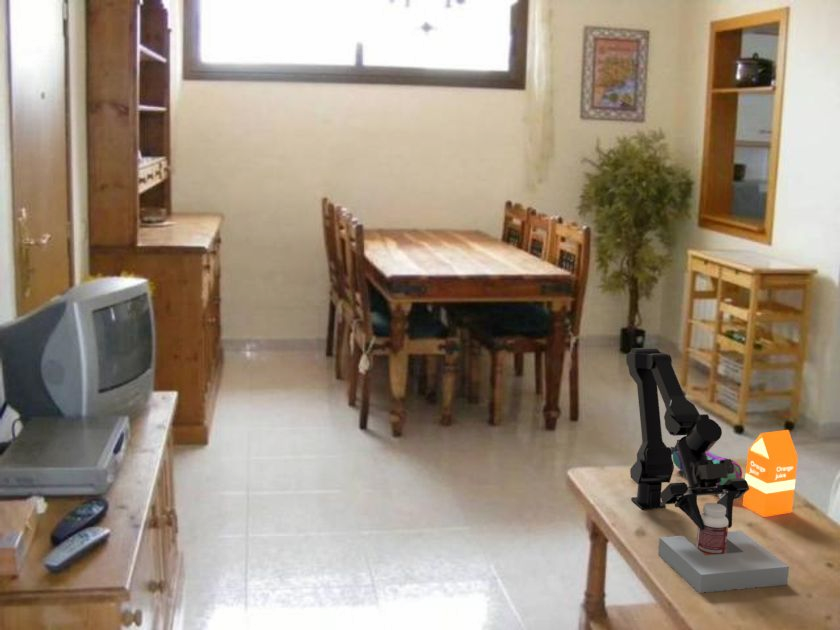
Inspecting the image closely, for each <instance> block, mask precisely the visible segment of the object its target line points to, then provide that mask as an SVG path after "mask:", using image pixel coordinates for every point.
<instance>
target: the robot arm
mask: <svg viewBox="0 0 840 630" xmlns="http://www.w3.org/2000/svg"><path fill="white" fill-rule="evenodd" d="M625 358H626V359H625V361H626V365H627V367H628V372H629V375H630V377H631V378H632V380H633V381H634V382H635V383H636V387H637V398H638V408H639V417H640V418H639V421H640V431H641V441H642V442H641V444H640V446H639V449H638V450H637V453H636V461H635V463H634V464H633V465H632V466H631V468H630V469H629V470H630V471H629V472H630V474H629V475H630V479H632V481H634V482H635V484H637V491H636V497H635V496H634V497H631V498H630V500H631V501H632V503H633V502H634V504H635V505H637V506H638V507H639V508H640V509H642V510H649V509H650V510H651V509H662V508H666V506H667V505H674V507H675V508H678V509H680V510H681V511H682V512H683V513H684V514H685V515H686V516H687V517H688V518H689V519H690V520H691V521H692V522H693V523H694V524H695V525H696V527H697V528H698V527H699V529H700V530H703V529H704V524H703V520H702V517H701V514H702V513H701V511H700V508H699V506H698V498H697V497H700V496H711V495H713V496H714V495H718V497H719V499H718V500H717V502H716V503H718V504H721V505H723V506H725V507H726V515H725V517H727V519H728V522H729V523H728V529H730V528H732V526H733V506H734V501H735V500H737V499H740V498H741V497H742V496H744V494H745V493H746V492H747V491H748V490H749V489H750V488H749V485H748V483H747V481H746V480H745V478H743V477H742V478H738V479H729V480H728V481H727V482H726V483H724V484H723V485H716V483H719V482H720V481H721V478H728V474H732V473H734V466H733V463H732V461H731V460H732V459H731V458H727V459H724V460H720V464H714V463H713V461H712V460H708V457H707V454H706V452H707V451H708V452H710V449H712V447H714V445H715V444H717V442H718V441H719V440H720V439H721V437H722V434H723V431H722V427H721V426H720V425H719V424H718V422H717V421H715V420H713V419H712V418H710V417H709V414H705V413H704V414H700V413H699V411H698V409H697V407H696V405H695V404H694V403H693V402H691V401H690V400H688V399H687V398H686V396H685V394H684V392H683V388H682V387H681V384H680V382H679V378H678V377H677V374H676V372H675V369H674V367H673V361H672V356H671V355H670V354H669V353H667V352H662V351H659V349H658V347H640V348H639V347H636V348H635V347H634V348H633V347H632V348H631V349H630V352H628V353H627V354H626V357H625ZM658 392H659V393H660V396H661V398H662V401H663V403H664V407H665V412H664V416H663V420H664V426H665V429H666V431H667V432H668V434H669V435H670V436H673V437H674V436H678V437H680V436H683V437H681V438H680V439H677V440H676V443H675V444H674V446H673V447H674V451H675V452H679V455H680V458H681V462H682V465H683V468H684V470H683V471H682V470H681V475H682V476H683V477H685V478H686V481H687V483H686V482H685V481H684V482H671V480H672V476H673V473H674V470H675V464H674V461H673V455H672V452H671V449H670V448H671V446H670V447H669V446H668V447H667V446H666V443H665V442H664V441H663V434H662V422H661V413H660V403H659V394H658ZM663 483H667V484H668V483H669V484H668V485H666V487H664V489H663V490H662V488H663V487H662V485H663Z"/></svg>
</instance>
